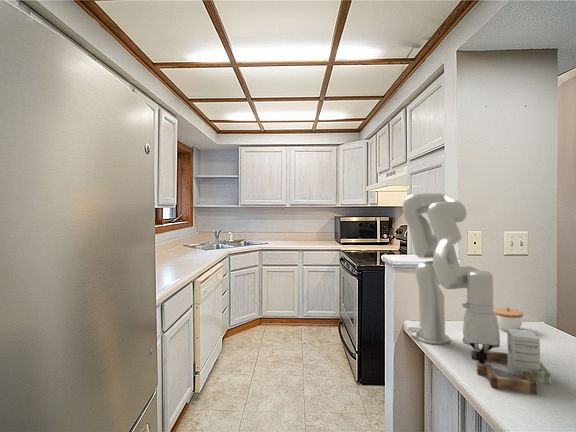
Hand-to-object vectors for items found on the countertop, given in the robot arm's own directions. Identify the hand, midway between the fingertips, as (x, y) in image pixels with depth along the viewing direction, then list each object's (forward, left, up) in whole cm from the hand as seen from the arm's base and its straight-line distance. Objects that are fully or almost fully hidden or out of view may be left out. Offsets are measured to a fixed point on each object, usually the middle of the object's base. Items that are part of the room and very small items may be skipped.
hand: (481, 362), depth 110 cm
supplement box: (+12, -1, -1) cm, 12 cm away
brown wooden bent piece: (+6, -10, -1) cm, 12 cm away
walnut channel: (+7, 0, -1) cm, 7 cm away
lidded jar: (+17, +42, -1) cm, 45 cm away
